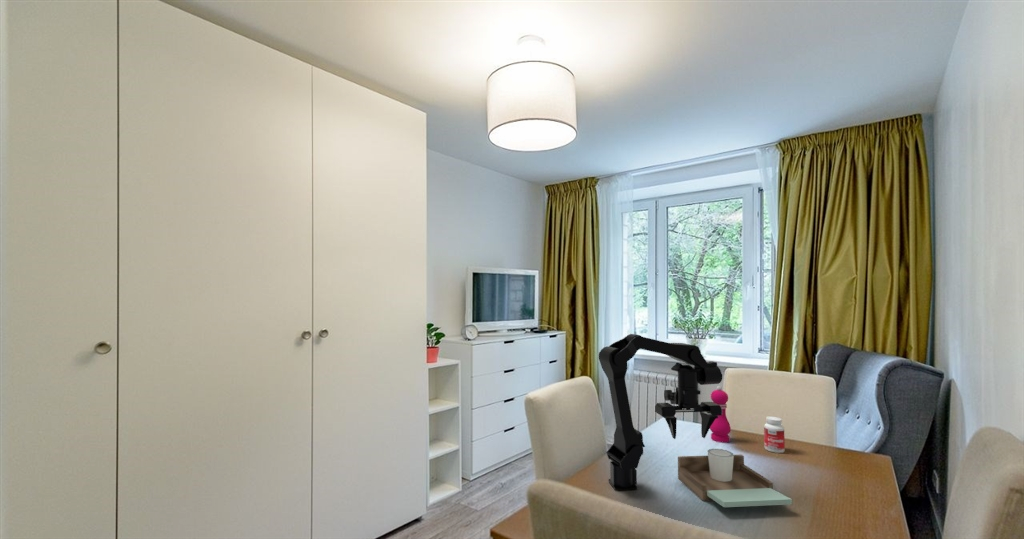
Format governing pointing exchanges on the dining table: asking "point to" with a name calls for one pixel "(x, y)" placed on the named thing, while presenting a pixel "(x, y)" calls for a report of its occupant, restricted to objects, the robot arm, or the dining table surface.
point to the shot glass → (720, 464)
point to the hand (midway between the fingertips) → (688, 438)
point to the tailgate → (748, 497)
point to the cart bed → (699, 480)
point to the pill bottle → (774, 435)
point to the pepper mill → (720, 417)
